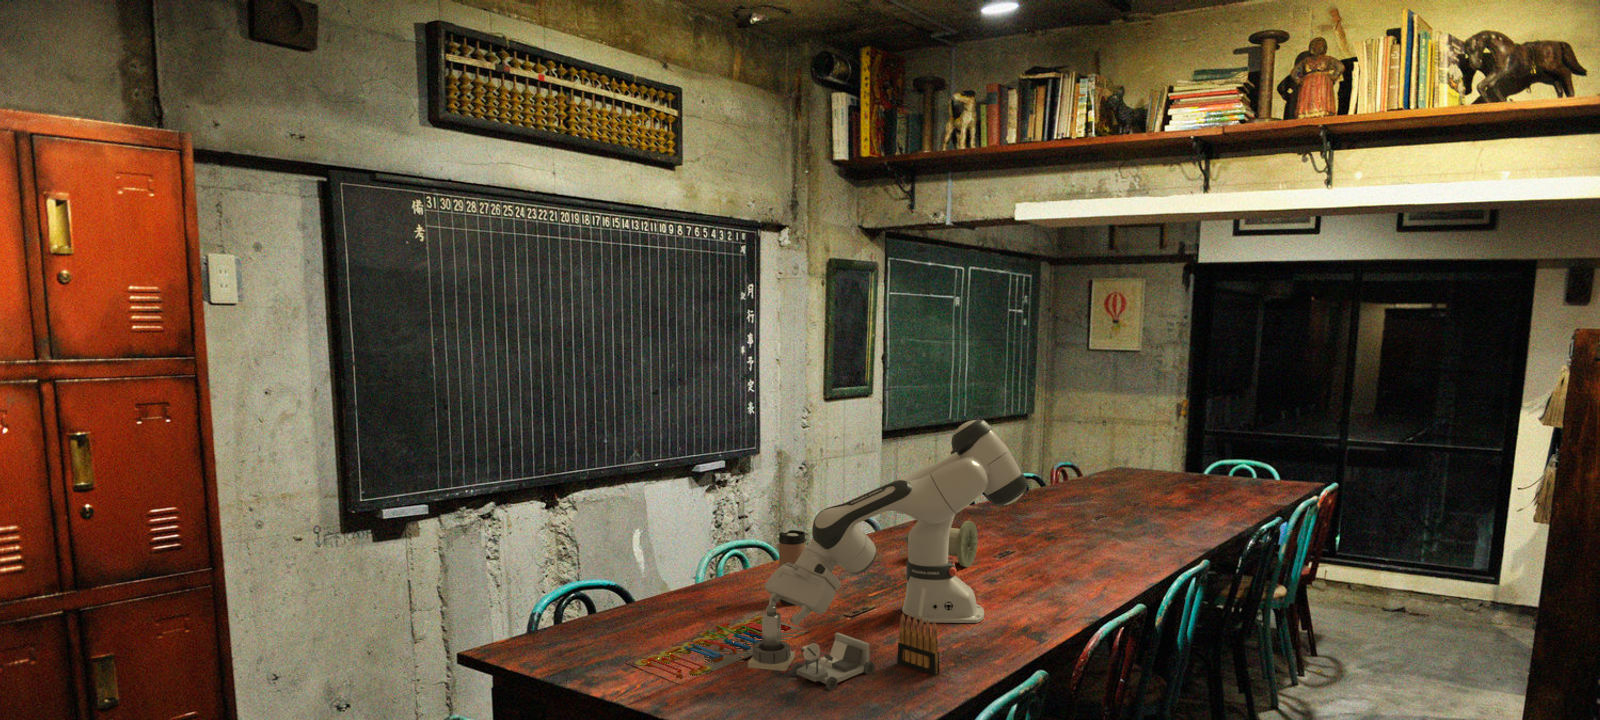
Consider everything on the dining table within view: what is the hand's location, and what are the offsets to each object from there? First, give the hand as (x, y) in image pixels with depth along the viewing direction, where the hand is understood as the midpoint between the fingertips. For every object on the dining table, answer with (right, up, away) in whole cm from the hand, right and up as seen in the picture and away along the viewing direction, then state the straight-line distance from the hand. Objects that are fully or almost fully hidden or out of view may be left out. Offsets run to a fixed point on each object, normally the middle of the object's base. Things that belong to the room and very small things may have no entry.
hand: (781, 617), depth 201 cm
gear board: (-15, -10, +8) cm, 19 cm away
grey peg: (-2, -8, -3) cm, 9 cm away
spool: (+54, -7, +85) cm, 101 cm away
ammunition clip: (+32, -10, -7) cm, 34 cm away
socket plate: (-2, -10, -3) cm, 10 cm away
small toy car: (+11, -11, -10) cm, 19 cm away
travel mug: (+2, -9, +42) cm, 43 cm away
